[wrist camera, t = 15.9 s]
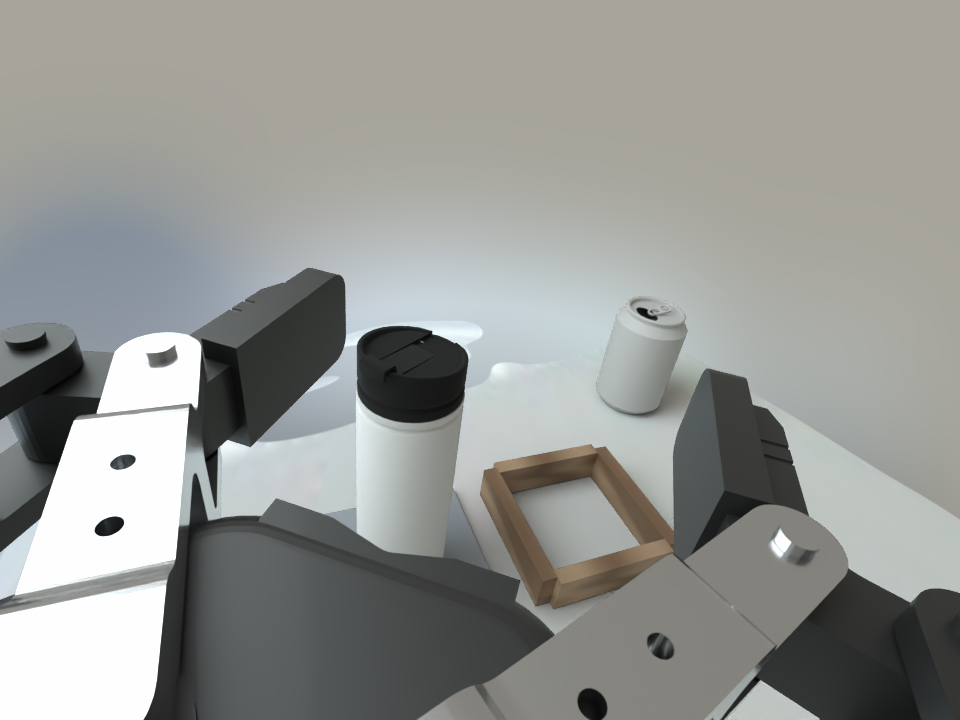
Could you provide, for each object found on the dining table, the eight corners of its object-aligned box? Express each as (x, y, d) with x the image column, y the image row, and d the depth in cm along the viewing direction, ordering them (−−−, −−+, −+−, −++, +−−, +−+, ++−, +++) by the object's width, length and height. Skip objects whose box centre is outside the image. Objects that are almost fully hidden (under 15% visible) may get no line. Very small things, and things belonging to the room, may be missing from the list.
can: (583, 382, 65) (608, 293, 59) (635, 376, 68) (665, 290, 61) (615, 422, 60) (647, 328, 53) (671, 414, 62) (708, 323, 56)
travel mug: (335, 576, 40) (325, 342, 29) (396, 520, 44) (408, 302, 33) (400, 627, 37) (417, 392, 26) (458, 562, 42) (492, 341, 31)
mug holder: (594, 465, 54) (601, 442, 52) (674, 571, 44) (686, 547, 43) (477, 489, 49) (481, 465, 47) (538, 613, 40) (546, 588, 38)
